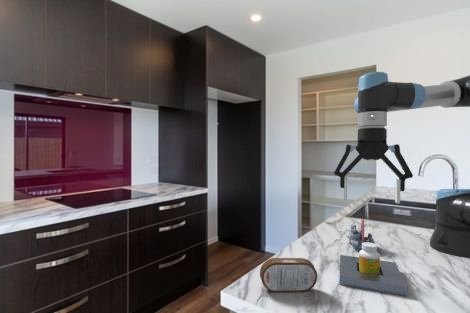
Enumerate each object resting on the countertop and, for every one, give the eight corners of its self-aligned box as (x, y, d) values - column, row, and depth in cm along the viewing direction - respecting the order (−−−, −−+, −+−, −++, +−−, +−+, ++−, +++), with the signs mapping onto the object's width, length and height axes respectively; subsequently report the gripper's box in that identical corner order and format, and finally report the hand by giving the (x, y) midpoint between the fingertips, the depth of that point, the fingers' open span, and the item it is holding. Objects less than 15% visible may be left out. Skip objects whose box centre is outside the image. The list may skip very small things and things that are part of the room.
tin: (314, 287, 73) (315, 256, 73) (318, 293, 70) (319, 261, 70) (259, 287, 72) (259, 257, 72) (261, 294, 69) (261, 261, 69)
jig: (395, 270, 83) (395, 262, 83) (406, 296, 68) (407, 286, 68) (340, 262, 89) (340, 254, 89) (339, 284, 74) (339, 275, 74)
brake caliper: (384, 249, 94) (362, 220, 97) (357, 264, 98) (336, 236, 100) (379, 239, 105) (359, 213, 107) (355, 253, 108) (336, 227, 111)
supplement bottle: (368, 282, 76) (368, 248, 75) (354, 274, 81) (355, 242, 80) (383, 280, 77) (384, 246, 77) (369, 272, 82) (370, 240, 82)
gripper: (325, 128, 79) (324, 199, 79) (427, 125, 70) (425, 206, 70) (327, 129, 86) (326, 195, 86) (419, 127, 77) (417, 201, 77)
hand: (370, 200), depth 78 cm, fingers open, 13 cm apart
